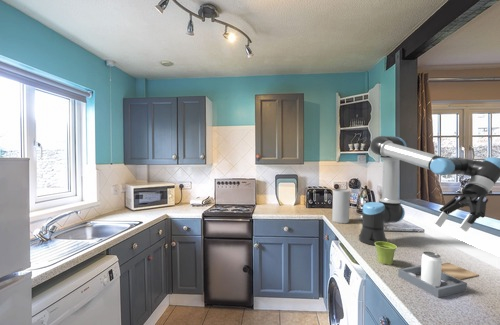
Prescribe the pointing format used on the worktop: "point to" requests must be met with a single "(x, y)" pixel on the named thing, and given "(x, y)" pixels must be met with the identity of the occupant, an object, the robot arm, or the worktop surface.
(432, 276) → the can
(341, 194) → the cylinder vase
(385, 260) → the plant pot
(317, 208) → the worktop surface
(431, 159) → the robot arm
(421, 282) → the tray
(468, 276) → the pad
